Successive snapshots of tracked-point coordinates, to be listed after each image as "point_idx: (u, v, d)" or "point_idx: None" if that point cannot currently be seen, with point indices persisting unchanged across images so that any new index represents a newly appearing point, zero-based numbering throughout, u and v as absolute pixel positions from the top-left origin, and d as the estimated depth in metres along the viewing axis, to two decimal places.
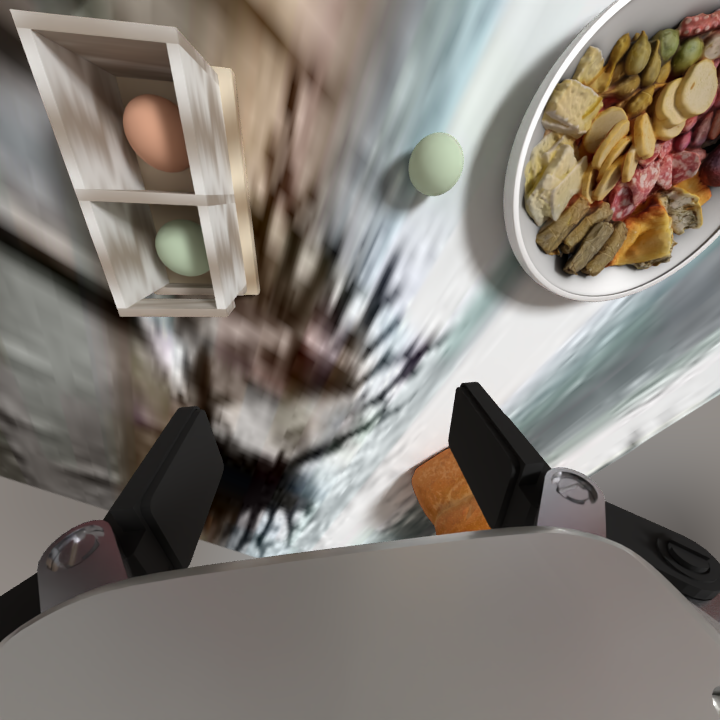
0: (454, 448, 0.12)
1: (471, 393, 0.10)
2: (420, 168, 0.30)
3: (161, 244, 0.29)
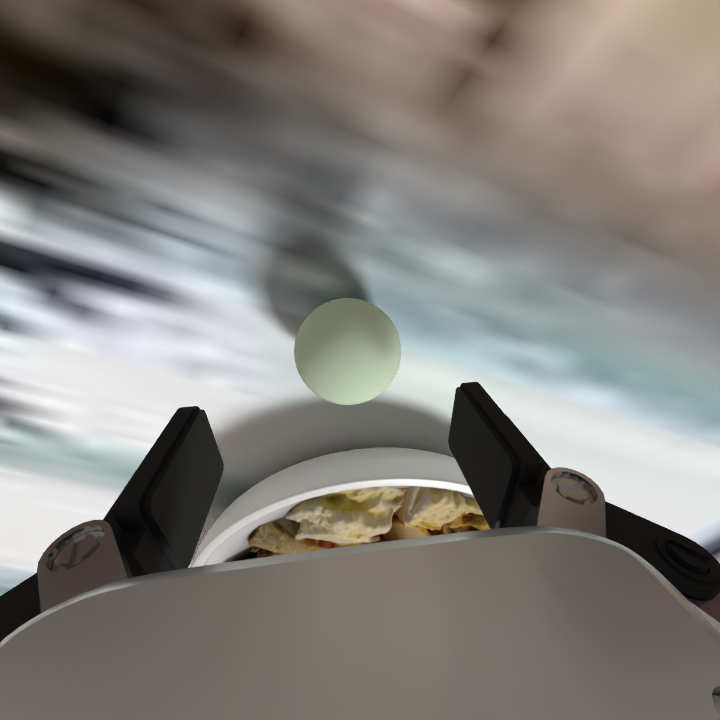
0: (453, 448, 0.12)
1: (471, 393, 0.10)
2: (337, 330, 0.13)
3: None
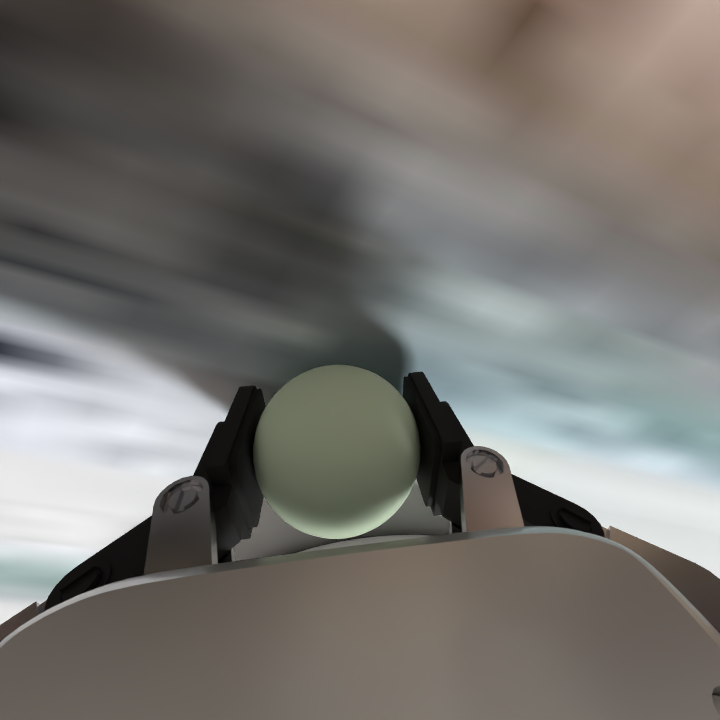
0: None
1: (414, 382, 0.11)
2: (319, 440, 0.08)
3: None
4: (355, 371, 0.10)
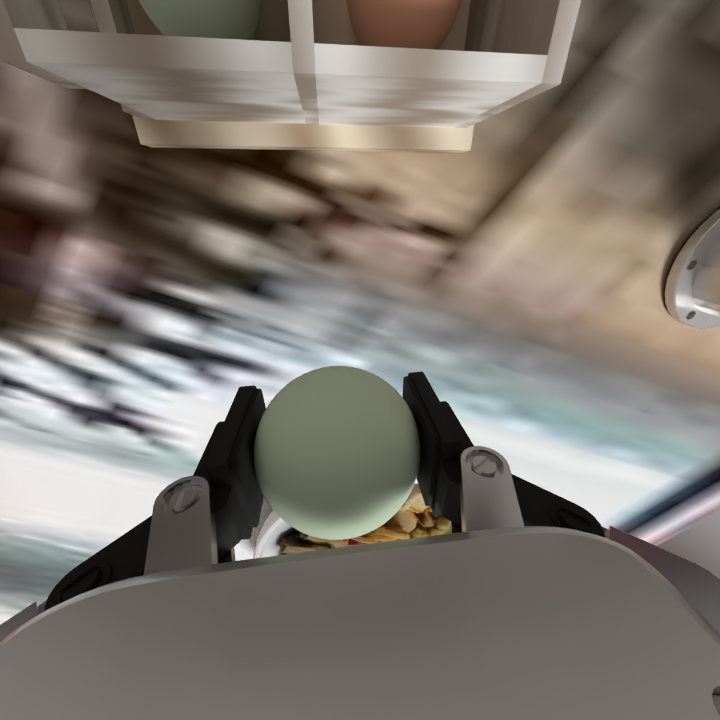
0: None
1: (414, 381, 0.11)
2: (320, 441, 0.08)
3: None
4: (355, 372, 0.10)
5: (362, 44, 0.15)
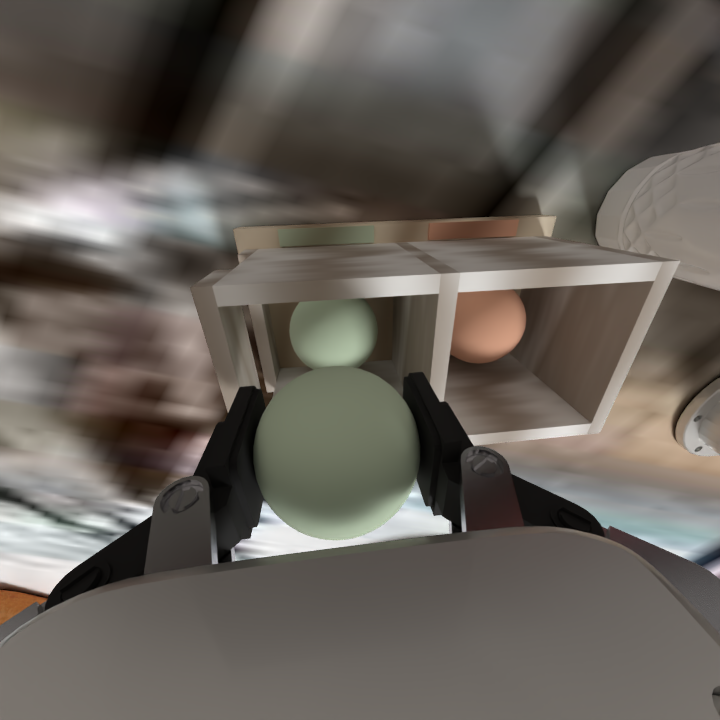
0: None
1: (414, 382, 0.11)
2: (319, 441, 0.08)
3: (346, 323, 0.17)
4: (355, 372, 0.10)
5: None
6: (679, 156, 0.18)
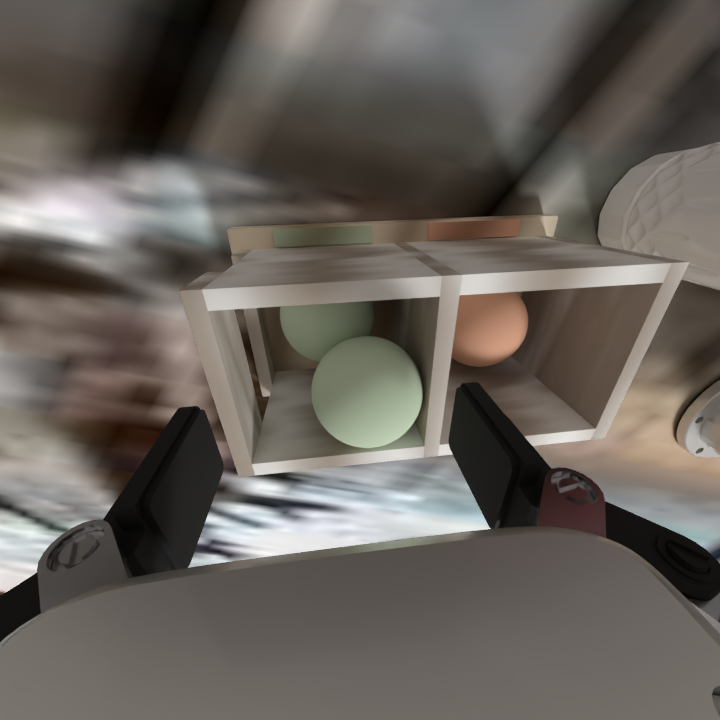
0: (453, 448, 0.12)
1: (471, 393, 0.10)
2: (400, 435, 0.14)
3: None
4: (408, 383, 0.13)
5: None
6: (685, 154, 0.17)
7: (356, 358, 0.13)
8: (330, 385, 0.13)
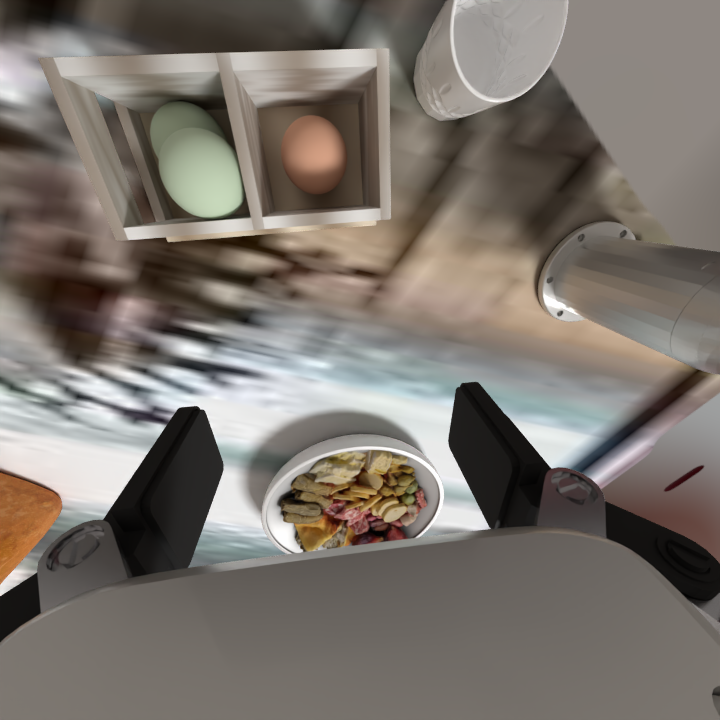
0: (454, 447, 0.12)
1: (471, 393, 0.10)
2: (220, 193, 0.20)
3: (183, 105, 0.22)
4: (216, 148, 0.20)
5: (295, 185, 0.27)
6: None
7: (179, 130, 0.19)
8: (162, 149, 0.19)
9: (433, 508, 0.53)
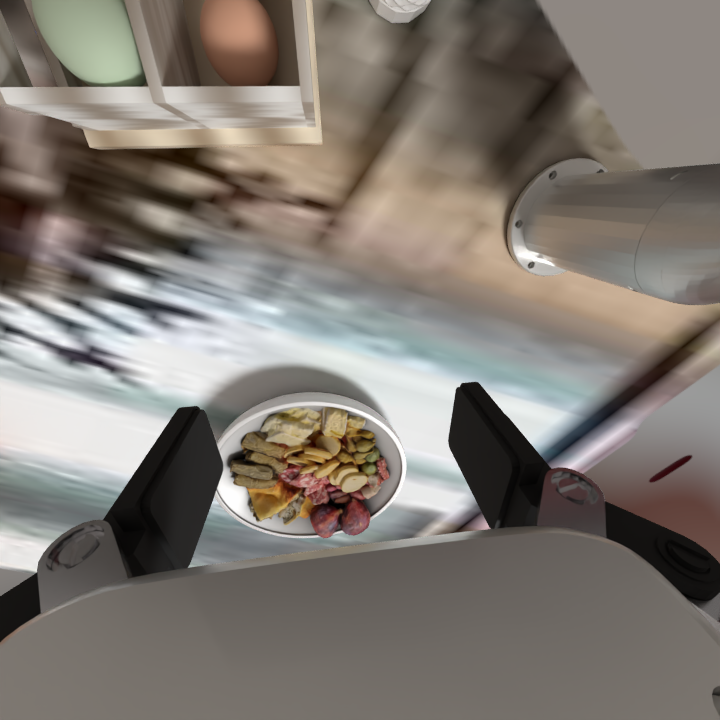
0: (454, 448, 0.12)
1: (471, 393, 0.10)
2: (104, 45, 0.18)
3: None
4: None
5: (221, 77, 0.24)
6: None
7: None
8: None
9: (396, 480, 0.50)
